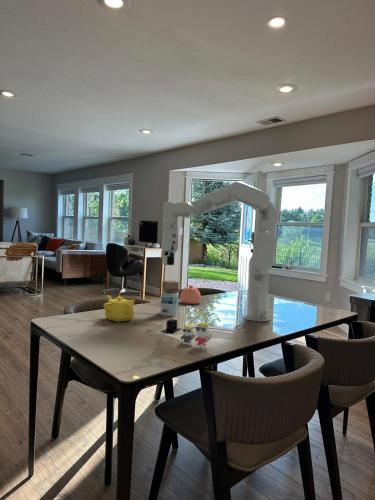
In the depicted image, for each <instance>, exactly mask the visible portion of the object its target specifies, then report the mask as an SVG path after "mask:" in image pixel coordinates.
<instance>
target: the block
mask: <svg viewBox="0 0 375 500" xmlns="http://www.w3.org/2000/svg"><path fill="white" fill-rule="evenodd" d="M161 281H162V284H161V291H162V293H163V292H166V293H178V291H179V286H180V285H179V284H180V283H179V282H178V281H176V280H161Z"/></svg>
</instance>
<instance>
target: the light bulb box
mask: <svg viewBox="0 0 375 500" xmlns="http://www.w3.org/2000/svg"><path fill="white" fill-rule="evenodd" d="M179 292H180V291H179V290H178V293H166V292H163V291H162V292H161V301H160V316H168V317H174V316H175V315H177V314H178V313H179V300H180V293H179Z"/></svg>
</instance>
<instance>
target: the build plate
mask: <svg viewBox="0 0 375 500" xmlns="http://www.w3.org/2000/svg"><path fill="white" fill-rule="evenodd" d="M165 325H166V326H165V329H163V330H160V333H164V334H168V335H169V334H170V335H174V334H175V333H177V332H179V331H181V330H182V328H179V327H178V320H177V319H174V318H173V319H172V318H170V319H168V320H166V324H165Z"/></svg>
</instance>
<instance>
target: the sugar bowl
mask: <svg viewBox="0 0 375 500" xmlns="http://www.w3.org/2000/svg"><path fill="white" fill-rule="evenodd" d="M179 300H180V302H181V303H183V304H184V305H188V304H189V305H190V304H192V305H194V304H195V305H197V304H199V303H201V301H202V294H201V293H200V290H199V289H198V288H197V287H195V286H194V285H193V284H189V285H188V286H186V287H184V288H183V289H182V291H181V293H179Z"/></svg>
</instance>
